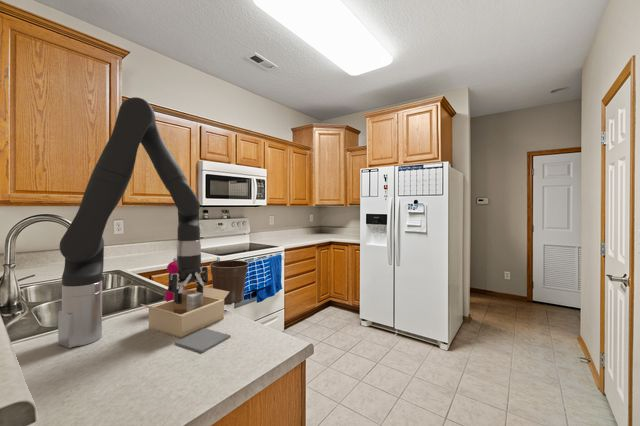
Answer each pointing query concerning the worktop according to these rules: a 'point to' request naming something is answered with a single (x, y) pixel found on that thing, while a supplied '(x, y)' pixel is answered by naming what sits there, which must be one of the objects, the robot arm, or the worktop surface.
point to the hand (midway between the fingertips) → (189, 300)
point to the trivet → (202, 340)
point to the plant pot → (230, 279)
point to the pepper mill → (171, 269)
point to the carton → (187, 315)
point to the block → (189, 302)
